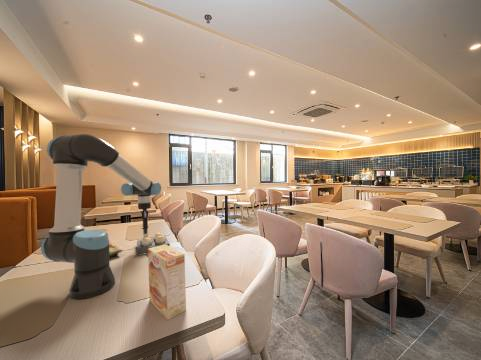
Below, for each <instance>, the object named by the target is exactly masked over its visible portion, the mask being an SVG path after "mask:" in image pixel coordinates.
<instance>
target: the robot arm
mask: <svg viewBox="0 0 481 360" xmlns="http://www.w3.org/2000/svg"><path fill="white" fill-rule="evenodd" d="M46 152H47V153H46V154H47V155H48V157H49V158H50V159H51V160H52V166H53V167H55V168H56V171H57V172H56V184H55V185H56V190H55V206H54V207H55V208H54V223H53V224H54V225H53V227H52V228H50V229H49V230H48V235H47V236H46V237H45V238H44V239H43V241H42V242H41V245H40V251H41V254H42V256H43V257H44V258H45V259H46V260H50V261H53V262H56V263H57V262H58V263H59V262H60V263H72V264H73V266H74V268H73V269H74V275H73V278H72V281H71V284H70V287H69V298H71V299H73V300H84V299H89V298H93V297H96V296H100V295H102V294H103V293H106V292H107V291H109V290H111V289H112V288H113V287H114V286H115V283H116V277H115V274H114V273H113V270H112V269H111V265H110V257H109V243H110V239H109V233H107V231H105V230H102V229H85V226H84V225H82V224H81V218H82V196H83V175H84V172H83V171H85V169H87V168H88V162H92V163H95V164H98V165H100V166H101V167H103V168H105V167H106V168H108V169H110V170H111V171H113V172H114V173H115V174H117V175H118V176H120V177H121V178H123V179H125V180H126V181H127V182H125V183H123V184H122V185H121V187H120V192H121V194H122V195H123V196H124V197H125V196H137V203H138V204H137V209H138V210H141V218H142V227H141V229H142V235H143V237H142V239H144V238H149V231H148V230H149V229H148V228H149V225H148V220H149V219H148V218H149V210H148V209H151V208H152V205H151V204H152V203H151V199H152V196H158V195H159V194H161V192H162V184H160V182H157V181H152V180H151V179H149V178H148V177H147V176H146V175H145V174H143V173H142V172H141V171H140V170H138V168H136V167H135V166H133V165H132V164H131V163H130V162H128V160H126V159H125V158H124V157H123V156H121V155H120V152H119V150H118V149H116V148H115V147H114V146H113V145H111V144H110V143H109V142H107V141H105V139H104V140H103V139H101V138H100V137H98V136H96V135H93V134H89V133H80V134H71V135H70V134H69V135H67V134H65V135H60V136H57V137H53V138H52V139H50V141H49V142H48V144H47V146H46Z"/></svg>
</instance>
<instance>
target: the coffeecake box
mask: <svg viewBox="0 0 481 360" xmlns="http://www.w3.org/2000/svg"><path fill="white" fill-rule="evenodd" d="M147 258H148V259H147V260H148V282H149V283H148V284H149V285H148V286H149V293H148V294H149V302H150V303H151V304H152V305H153V306H154V308H156V310H158V312H159V313H160V314H161V315H162V316H163V318H165V319H166V320H167V321H169V320H170V319H172V318H174V317H176V316H177V315H179V314H182V313H184V312H185V311H187V296H186V295H187V294H186V270H185V269H186V261H185V253H183V252H182V251H179V250H178V249H176V248H174V247H172V246H168V245H166V244H164V245H160V246H156V247H152V248H149V249H148V255H147Z"/></svg>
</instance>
